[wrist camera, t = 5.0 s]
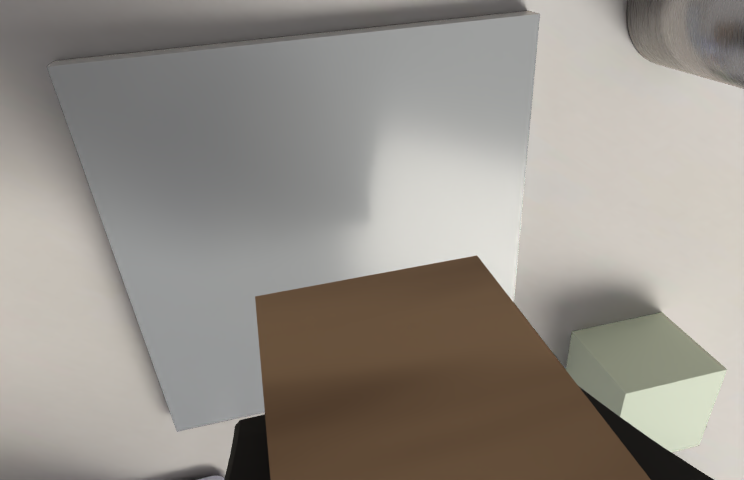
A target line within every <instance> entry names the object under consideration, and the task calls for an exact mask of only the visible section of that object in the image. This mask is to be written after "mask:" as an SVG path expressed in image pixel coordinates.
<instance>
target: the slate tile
mask: <svg viewBox="0 0 744 480" xmlns="http://www.w3.org/2000/svg"><path fill="white" fill-rule="evenodd" d="M539 19H540V14H539V13H535V12H532V11H523V12H513V13H504V14H494V15H485V16H475V17H466V18H456V19H447V20H438V21H428V22H419V23H409V24H400V25H390V26H381V27H371V28H362V29H352V30H343V31H334V32H324V33H315V34H305V35H296V36H286V37H277V38H267V39H258V40H248V41H239V42H230V43H220V44H211V45H201V46H192V47H182V48H173V49H163V50H154V51H144V52H135V53H126V54H116V55H107V56H97V57H88V58H78V59H69V60H59V61H53V62H52V63H51V64H49V65H48V66H47V69H48V72H49V75H50V78H51V80H52V83H53V86H54V89H55V92H56V94H57V97H58V100H59V103H60V106H61V108H62V111H63V114H64V117H65V120H66V122H67V125H68V128H69V131H70V134H71V136H72V139H73V142H74V145H75V148H76V150H77V153H78V156H79V159H80V162H81V164H82V167H83V170H84V173H85V176H86V178H87V181H88V184H89V187H90V190H91V192H92V195H93V198H94V201H95V204H96V206H97V209H98V212H99V215H100V218H101V220H102V223H103V226H104V229H105V232H106V234H107V237H108V240H109V243H110V246H111V248H112V251H113V254H114V257H115V260H116V262H117V265H118V268H119V271H120V274H121V276H122V279H123V282H124V285H125V288H126V290H127V293H128V296H129V299H130V302H131V304H132V307H133V310H134V313H135V316H136V318H137V321H138V324H139V327H140V330H141V332H142V335H143V338H144V341H145V344H146V346H147V349H148V352H149V355H150V358H151V360H152V363H153V366H154V369H155V372H156V374H157V377H158V380H159V383H160V386H161V388H162V391H163V394H164V397H165V400H166V402H167V405H168V408H169V411H170V414H171V416H172V419H173V422H174V425H175V428H176V430H177V432H178V431H182V430H187V429H191V428H196V427H200V426H205V425H210V424H214V423H219V422H223V421H228V420H232V419H237V418H241V417H246V416H250V415H255V414H259V413H264V412H265V408H264V397H263V385H262V373H261V361H260V349H259V338H258V326H257V314H256V302H255V296H260V295H266V294H271V293H276V292H282V291H287V290H293V289H298V288H303V287H309V286H314V285H320V284H325V283H331V282H336V281H341V280H347V279H352V278H358V277H363V276H368V275H374V274H379V273H385V272H390V271H395V270H401V269H406V268H412V267H417V266H422V265H428V264H433V263H439V262H444V261H449V260H455V259H460V258H466V257H471V256H476V255H477V256H478V257H479V258H480V260H481V261H482V262H483V264H484V265H485V266H486V267H487V269H488V270H489V271H490V273H491V274H492V275H493V277H494V278H495V279H496V280H497V282H498V283H499V284H500V286H501V287H502V288H503V289H504V291H505V292H506V293H507V295H508V296H509V297H510V298H511V300H512V301H513V302H514V297H515V286H516V275H517V263H518V252H519V241H520V230H521V219H522V208H523V197H524V186H525V174H526V163H527V152H528V141H529V130H530V119H531V108H532V96H533V85H534V74H535V63H536V52H537V41H538V30H539Z"/></svg>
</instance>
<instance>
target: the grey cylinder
mask: <svg viewBox="0 0 744 480" xmlns="http://www.w3.org/2000/svg"><path fill="white" fill-rule="evenodd" d="M627 22H628V29H629V33H630V37H631V40H632V42H633V44H634V46H635V47H636V49H637V50H638V52H639V53H640V54H641V55H642V56H643V57H644V58H646V59H647V60H649V61H650V62H653V63H655V64H658V65H662V66H665V67H669V68H672V69H676V70H679V71H683V72H686V73H690V74H693V75H697V76H700V77H704V78H707V79H711V80H715V81H718V82H722V83H725V84H729V85H732V86H736V87H739V88H743V89H744V0H628V8H627Z"/></svg>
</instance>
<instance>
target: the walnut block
mask: <svg viewBox="0 0 744 480" xmlns="http://www.w3.org/2000/svg"><path fill="white" fill-rule="evenodd" d="M255 302H256V314H257V326H258V338H259V349H260V361H261V373H262V385H263V397H264V408H265V420H266V432H267V444H268V456H269V467H270V479H271V480H651V479H650V478H649V477H648V475H647V474H646V473H645V472H644V470H643V469H642V468H641V466H640V465H639V464H638V463H637V461H636V460H635V459H634V457H633V456H632V455H631V453H630V452H629V451H628V450H627V448H626V447H625V446H624V444H623V443H622V442H621V441H620V439H619V438H618V437H617V435H616V434H615V433H614V432H613V430H612V429H611V428H610V426H609V425H608V424H607V422H606V421H605V420H604V419H603V417H602V416H601V415H600V413H599V412H598V411H597V410H596V408H595V407H594V406H593V404H592V403H591V402H590V401H589V399H588V398H587V397H586V395H585V394H584V393H583V391H582V390H581V389H580V388H579V386H578V385H577V384H576V382H575V381H574V380H573V379H572V377H571V376H570V375H569V373H568V372H567V371H566V370H565V368H564V367H563V366H562V364H561V363H560V362H559V360H558V359H557V358H556V357H555V355H554V354H553V353H552V351H551V350H550V349H549V348H548V346H547V345H546V344H545V342H544V341H543V340H542V339H541V337H540V336H539V335H538V333H537V332H536V331H535V329H534V328H533V327H532V326H531V324H530V323H529V322H528V320H527V319H526V318H525V317H524V315H523V314H522V313H521V311H520V310H519V309H518V308H517V306H516V305H515V304H514V302H513V301H512V300H511V298H510V297H509V296H508V295H507V293H506V292H505V291H504V289H503V288H502V287H501V286H500V284H499V283H498V282H497V280H496V279H495V278H494V277H493V275H492V274H491V273H490V271H489V270H488V269H487V267H486V266H485V265H484V264H483V262H482V261H481V260H480V258H479V257H478V256H477V255H476V256H471V257H466V258H460V259H455V260H449V261H444V262H439V263H433V264H428V265H422V266H417V267H412V268H406V269H401V270H395V271H390V272H385V273H379V274H374V275H368V276H363V277H358V278H352V279H347V280H341V281H336V282H331V283H325V284H320V285H314V286H309V287H303V288H298V289H293V290H287V291H282V292H276V293H271V294H266V295H260V296H255Z"/></svg>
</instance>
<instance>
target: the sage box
mask: <svg viewBox="0 0 744 480" xmlns="http://www.w3.org/2000/svg"><path fill="white" fill-rule="evenodd" d="M566 371H567V372H568V373H569V375H570V376H571V377H572V379H573V380H574V381H575V382H576V384H577V385H578V386H579V387H581V388H582V389H583V390H585V391H586V392H587V393H589V394H590V395H591V396H593V397H594V398H595V399H597V400H598V401H599V402H601V403H602V404H603V405H605V406H606V407H607V408H609V409H610V410H611V411H613V412H614V413H615V414H617V415H618V416H620V417H621V418H622V419H624V420H625V421H627V422H628V423H629V424H631V425H632V426H634V427H635V428H636V429H638V430H639V431H641V432H642V433H643V434H645V435H646V436H648V437H649V438H651V439H652V440H653V441H655V442H656V443H658V444H659V445H661V446H662V447H664V448H665V449H667V450H668V451H670V452H671V453H672V452H676V451H680V450H684V449H687V448H691V447H695V446H699V444H700V442H701V439H702V436H703V433H704V431H705V428H706V425H707V423H708V420H709V417H710V414H711V412H712V409H713V406H714V404H715V401H716V398H717V396H718V393H719V390H720V387H721V385H722V382H723V379H724V377H725V374H726V371H727V369H726V368H725V367H724V366H722V365H721V364H720V363H719V362H718V361H717V360H716V359H714V358H713V357H712V356H711V355H710V354H709V353H708V352H706V351H705V350H704V349H703V348H702V347H701V346H700V345H698V344H697V343H696V342H695V341H694V340H693V339H692V338H691V337H689V336H688V335H687V334H686V333H685V332H684V331H683V330H681V329H680V328H679V327H678V326H677V325H676V324H675V323H673V322H672V321H671V320H670V319H669V318H668V317H667V316H665V315H664V314H663V313H662V312H661V313H656V314H651V315H647V316H642V317H637V318H633V319H628V320H623V321H619V322H614V323H610V324H605V325H600V326H596V327H591V328H586V329H582V330H577V331H572V334H571V340H570V346H569V352H568V358H567V364H566Z"/></svg>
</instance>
